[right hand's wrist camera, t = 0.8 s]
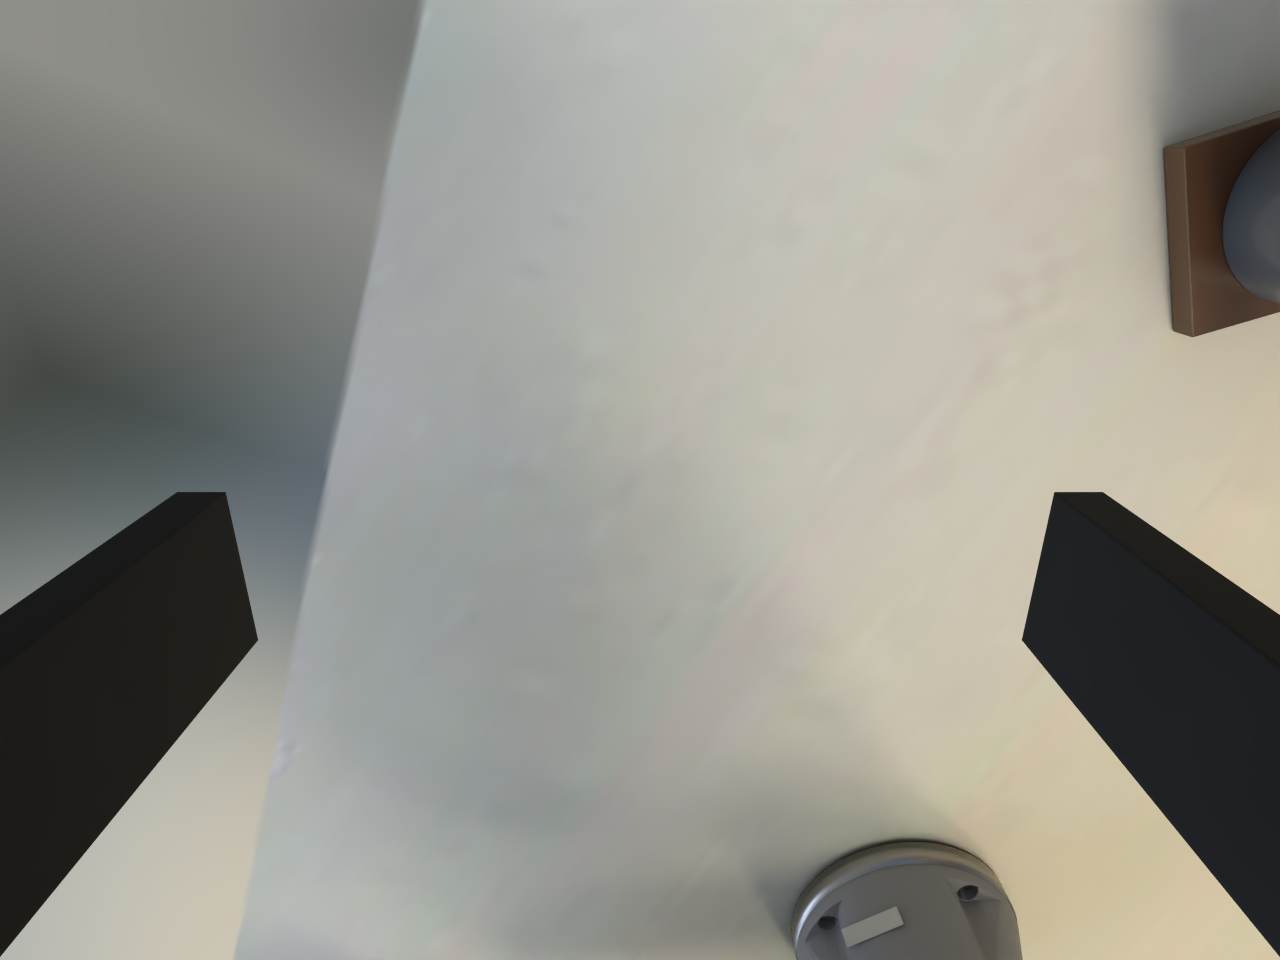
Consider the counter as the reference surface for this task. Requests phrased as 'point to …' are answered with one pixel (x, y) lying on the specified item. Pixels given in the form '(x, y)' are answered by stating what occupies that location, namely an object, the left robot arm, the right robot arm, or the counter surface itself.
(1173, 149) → the caddy
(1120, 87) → the counter surface
